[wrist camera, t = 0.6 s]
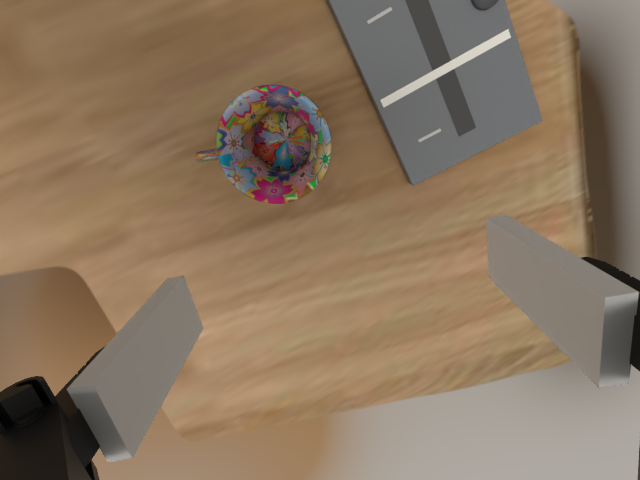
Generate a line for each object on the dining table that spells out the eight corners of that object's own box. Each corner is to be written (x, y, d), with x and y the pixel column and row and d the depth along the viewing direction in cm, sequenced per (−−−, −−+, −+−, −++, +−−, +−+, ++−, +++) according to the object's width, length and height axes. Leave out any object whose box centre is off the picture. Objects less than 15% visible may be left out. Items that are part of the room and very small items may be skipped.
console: (272, -119, 31) (267, -140, 29) (420, -224, 29) (430, -258, 26) (408, 182, 40) (414, 187, 37) (531, 120, 38) (547, 120, 35)
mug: (323, 85, 37) (322, 75, 27) (335, 175, 40) (338, 196, 30) (210, 103, 38) (168, 100, 28) (230, 190, 41) (199, 215, 31)
